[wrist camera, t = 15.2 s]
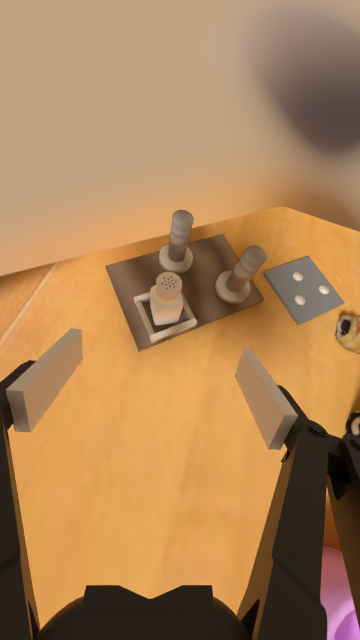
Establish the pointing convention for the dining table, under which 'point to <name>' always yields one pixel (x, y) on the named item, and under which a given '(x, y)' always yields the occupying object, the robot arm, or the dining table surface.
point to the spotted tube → (353, 424)
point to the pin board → (186, 282)
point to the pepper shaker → (166, 299)
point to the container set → (337, 597)
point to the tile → (303, 289)
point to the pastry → (349, 332)
